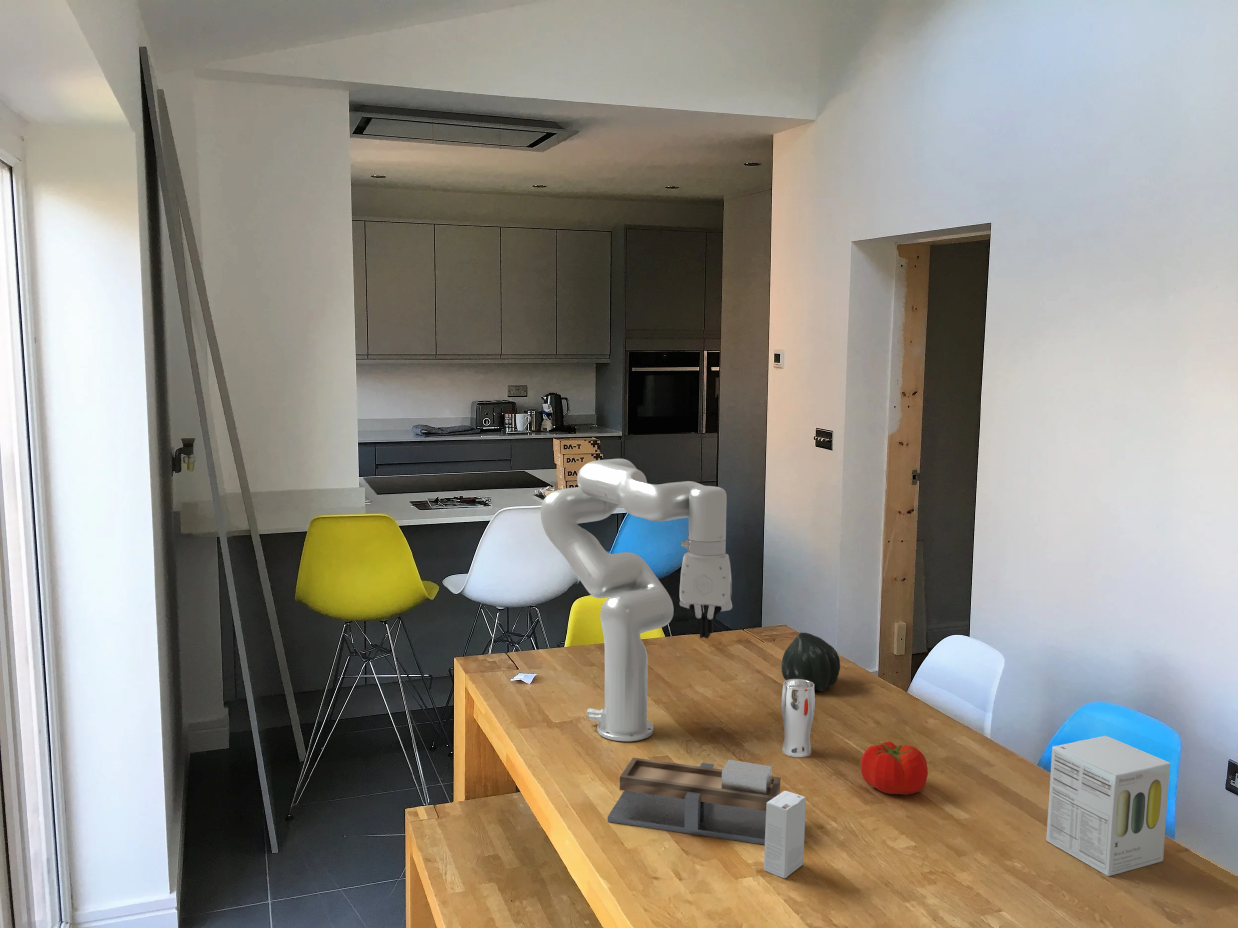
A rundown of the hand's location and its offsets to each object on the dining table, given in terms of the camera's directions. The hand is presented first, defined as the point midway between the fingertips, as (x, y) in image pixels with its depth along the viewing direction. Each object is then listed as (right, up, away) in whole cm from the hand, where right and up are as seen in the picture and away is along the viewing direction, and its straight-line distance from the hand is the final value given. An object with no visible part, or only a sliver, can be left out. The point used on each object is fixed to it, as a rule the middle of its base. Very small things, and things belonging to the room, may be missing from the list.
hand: (705, 636), depth 200 cm
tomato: (+36, -29, -7) cm, 47 cm away
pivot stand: (-3, -30, -20) cm, 36 cm away
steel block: (+5, -24, -23) cm, 34 cm away
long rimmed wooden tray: (-3, -25, -21) cm, 32 cm away
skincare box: (+10, -32, -38) cm, 51 cm away
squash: (+31, -22, +51) cm, 64 cm away
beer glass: (+20, -27, +10) cm, 35 cm away
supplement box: (+66, -32, -31) cm, 79 cm away
